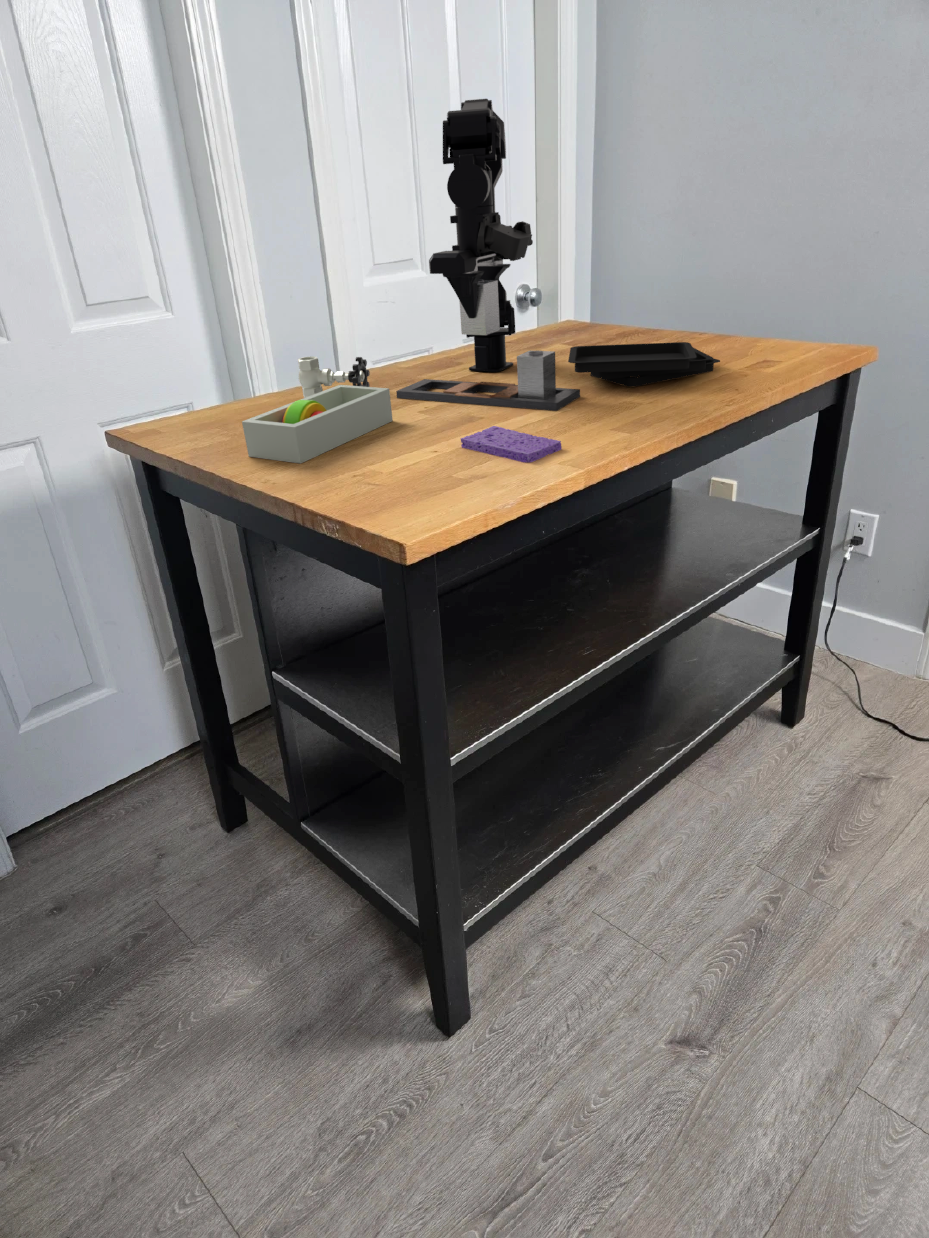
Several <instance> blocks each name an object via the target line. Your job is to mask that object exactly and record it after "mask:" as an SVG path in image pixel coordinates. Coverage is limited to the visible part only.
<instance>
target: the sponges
mask: <svg viewBox="0 0 929 1238" xmlns="http://www.w3.org/2000/svg"><path fill="white" fill-rule="evenodd" d="M561 442H562V441H561V440H559V439H558V440H557V439H553V438H548V437H544V436H537V435H533V434H531V433H530V434H529V433H525V432H520V431H517V430H514V429H513V430H512V429H508V428H504V427H501V426H497V425H493V426H490V427H488V428H486V429H482V431H477V432H475V433H473V434H470V435H466V436H464V437H461V438H460V443H461V448H462V449H467V450H471V451H475V452H479V453H484V454H487V455H493V456H496V457H499V458H505V459H509V460H512V461H513V460H514V461H516V462H521V463H533V462H536V461H537V460H540V459H543V458H545V457H547V456H548V454H549V455H552V454H554V453H556V452H559V451H561V450H562V443H561ZM546 455H547V456H546Z"/></svg>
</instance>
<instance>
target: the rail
mask: <svg viewBox="0 0 929 1238" xmlns="http://www.w3.org/2000/svg"><path fill="white" fill-rule="evenodd" d="M431 389H437V390H438V389H439V390H444V391H441V392H440V391H429V390H431ZM479 392H481V393H479ZM485 393H488V394H485ZM489 393H494V394H489ZM580 397H581V389H579V388H567V387H565V388H563V387H556V395H555V396H553V397H551V398H550V399H548V400H538V399H525V398H518V384H516V383H510V382H508V383H507V382H493V381H480V382H475V381H474V382H473V381H463V380H462V381H459V380H458V381H457V380H446V379H445V380H444V379H430V378H429V379H428V378H424V379H422V380H419V381H416V382H415V383H412V384H410V385H407V386H405V387H403V388H400V389H398V390H396V398H397V399H403V400H405V399H406V400H417V401H431V402H441V403H442V402H443V403H456V404H464V405H465V404H466V405H480V406H492V407H505V408H516V409H517V408H518V409H528V410H529V409H530V410H542V411H552V412H554V411H555V412H557V411H558V410H561V409H562V408H564V407H566V406H567V405H569V404H571V403H573V401H576V400H577V399H579V398H580Z"/></svg>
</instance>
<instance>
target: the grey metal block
mask: <svg viewBox="0 0 929 1238" xmlns="http://www.w3.org/2000/svg"><path fill="white" fill-rule="evenodd" d="M516 367H517V368H516V369H517V385H518V398H525V399H538V400H548V399H550V398H551V397H553V396H555V395H556V388H557V384H556V382H557V381H556V378H557V377H556V376H557V375H556V372H557V371H556V351H552V350H551V351H550V350H540V349H539V350H530V349H529V350H528V351H526V352H523V353H521V354H519V355H516Z"/></svg>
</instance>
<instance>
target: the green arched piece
mask: <svg viewBox="0 0 929 1238" xmlns="http://www.w3.org/2000/svg"><path fill="white" fill-rule="evenodd" d="M293 402H294V403H292V402H291V403H292V404H291V405H290V406H289V407H288V408H287V410H286V412H285V415H284V417H283V420H282V423H288V424H295V423H298V422H300V421H303V420H305V419H308V418H310V417H313V416H315V415H317V414H320V413H322V412H325V411H327V410H326V409H325V407H324V406H323V405H321V404H320V403H319V402H317V401H313V400H300V399H298V400H296V401H293Z"/></svg>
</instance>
